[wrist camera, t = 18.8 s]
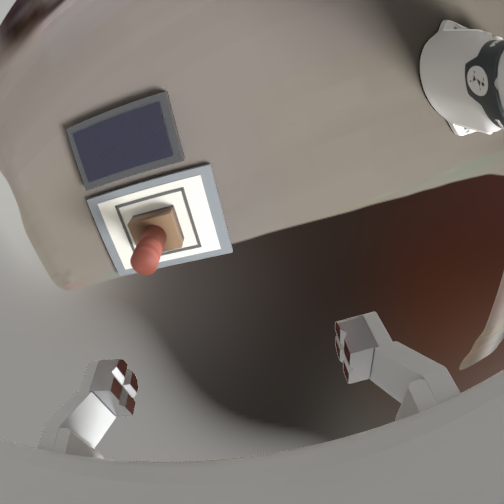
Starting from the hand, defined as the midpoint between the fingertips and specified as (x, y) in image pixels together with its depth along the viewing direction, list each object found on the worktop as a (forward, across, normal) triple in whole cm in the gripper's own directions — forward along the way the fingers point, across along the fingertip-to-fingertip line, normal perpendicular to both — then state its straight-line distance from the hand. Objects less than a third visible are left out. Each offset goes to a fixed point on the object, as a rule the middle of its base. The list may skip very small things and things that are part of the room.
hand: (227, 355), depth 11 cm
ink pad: (+31, +12, -6) cm, 34 cm away
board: (+31, +11, +7) cm, 34 cm away
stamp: (+30, +11, +7) cm, 33 cm away
